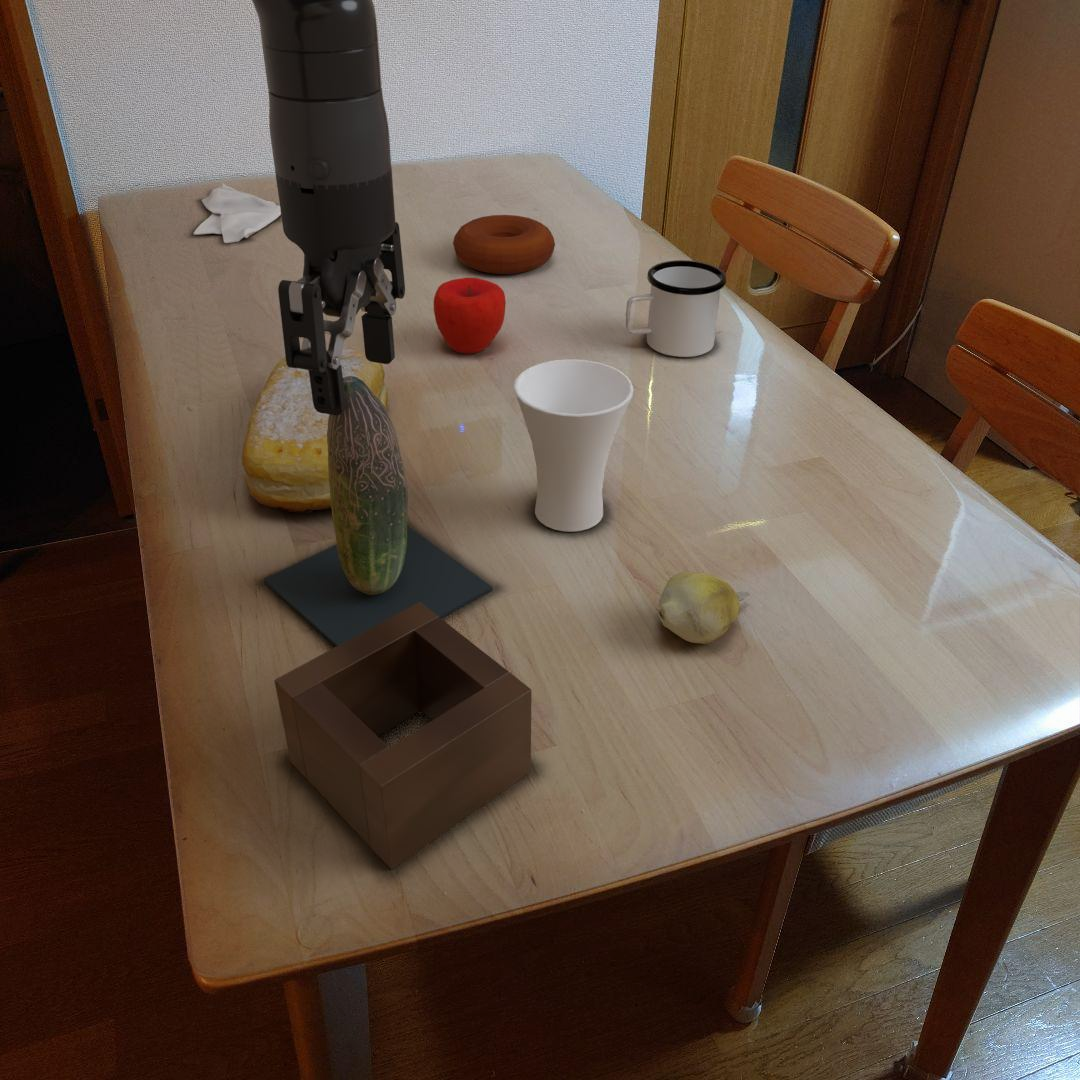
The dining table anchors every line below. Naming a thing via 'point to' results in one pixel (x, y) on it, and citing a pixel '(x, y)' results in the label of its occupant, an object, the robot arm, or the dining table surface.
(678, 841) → the dining table surface
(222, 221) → the cloth
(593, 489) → the cup
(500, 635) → the dining table surface
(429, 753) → the holder
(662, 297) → the mug
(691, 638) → the fruit
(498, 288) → the apple
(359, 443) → the vegetable
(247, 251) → the dining table surface
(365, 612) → the mat
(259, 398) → the bread
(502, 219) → the donut
